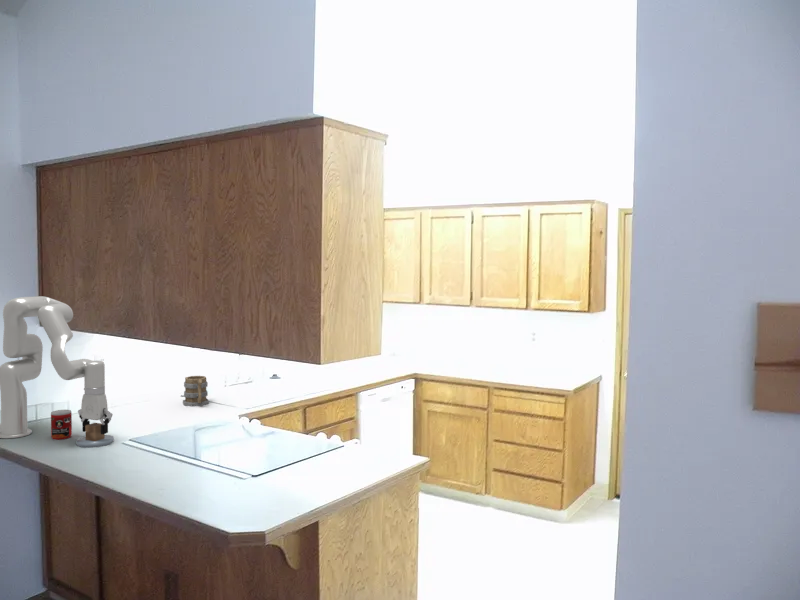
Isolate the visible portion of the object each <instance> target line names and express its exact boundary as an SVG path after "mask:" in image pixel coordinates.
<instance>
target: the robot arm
mask: <svg viewBox="0 0 800 600" xmlns="http://www.w3.org/2000/svg"><path fill="white" fill-rule="evenodd" d="M2 317H3V318H2V319H3V337H2V338H3V339H2V352H3V355H4V356H5V357H6V358H9V359H15V360H10V361H7V362H4V363H2V364H1V365H0V438H1V439H16V438H22V437H26V436H29V435H31V434H32V429H30V428H28V392H27V389H26V388H25V386H24V384H23V383H24V382H28V381H31V380H36V379H37V378H38V377H39V376H40V374H41V372H42V368H43V367H42V365H43V363H42V362H43V351H44V350H43V348H44V347H43V342H42V340H41V338H40V337H39V336H38V335H37V334H35V333H28V325H27V321H26V319H25V318H32V317H37V319H38V320H39V323H40V324H41V326H42V328H43V329H44V331H45V333H46V335H47V337H48V339H49V341H50V342H51V348H50V362H51V364H52V366H53V368H54V370H55V371H56V373H57V375H58V376H59V378H61V379H62V380H64V381H72V380H76V379H81V378H83V379H84V381H83V382H84V388H83V390H84V394H83V395H82V399H81V404H80V405H81V408H80V409H78V410H77V413H78V415H79V416H78V417H79V419H80V422H81V424H82V432H83V433H85V425H89V424H91V421H100V423H101V424H102V425H101V434H105V435H107V434H108V432H109V424H110V422H111V420H112V417H113V413H112V412H110V411H109V410H108V409H109V407H108V399H107V395H106V380H105V379H106V378H105V376H106V375H105V372H106V371H105V363H104V361H102V360H91V359H88V358H80V359H74V360H73V359H72V360H69V358H68V356H67V354H66V350H65V349H66V348H65V347H66V345H67V343H68V342H69V341H71V340H72V339H73V337H74V334H73V331H72V330H71V328H70V326H69V324H68V323H70V322H71V321H72V320H73V318H74V311H73V309H72V307H71V306H69V305H68V304H67V303H65V302H62V301H59V300H57V299H54V298H51V297H48V296H42V295H41V296H39V295H38V296H21V297H15V298H12V299H10V300H8V301H7V302H6V303H5V305H4V306H3V310H2ZM18 358H20V359H18ZM21 358H22V359H21ZM90 420H91V421H90Z"/></svg>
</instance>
